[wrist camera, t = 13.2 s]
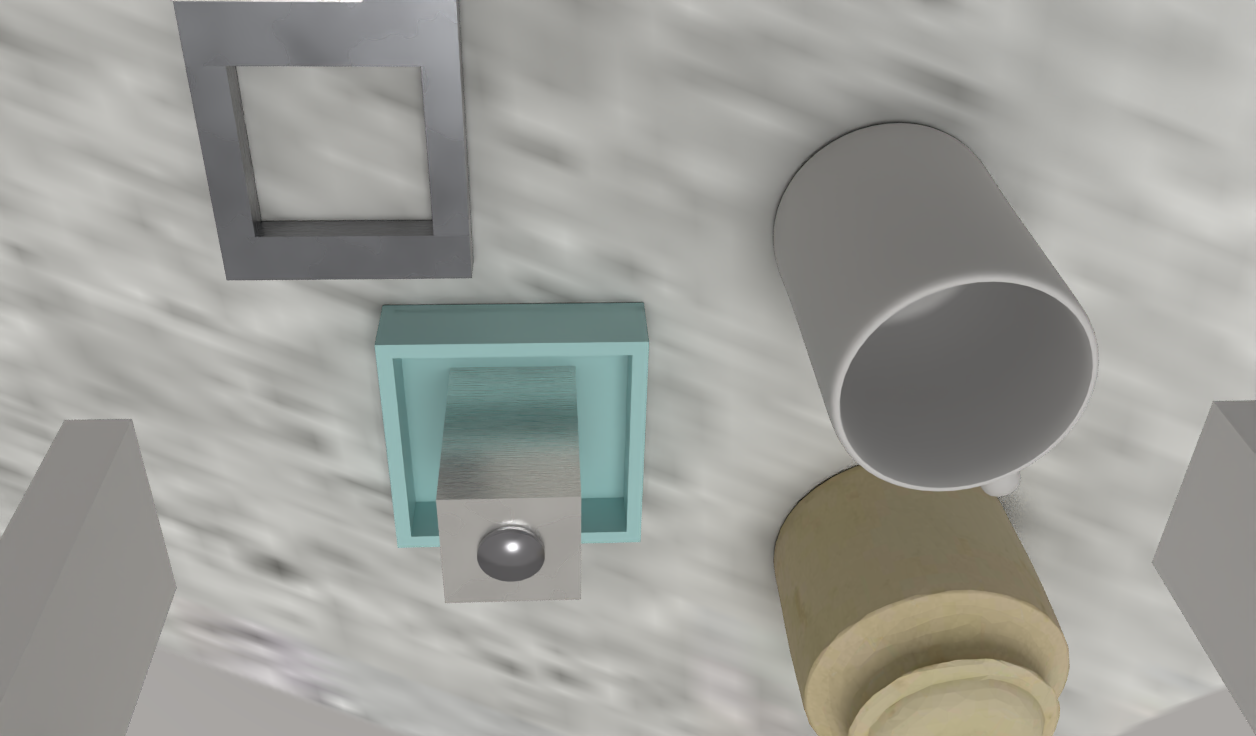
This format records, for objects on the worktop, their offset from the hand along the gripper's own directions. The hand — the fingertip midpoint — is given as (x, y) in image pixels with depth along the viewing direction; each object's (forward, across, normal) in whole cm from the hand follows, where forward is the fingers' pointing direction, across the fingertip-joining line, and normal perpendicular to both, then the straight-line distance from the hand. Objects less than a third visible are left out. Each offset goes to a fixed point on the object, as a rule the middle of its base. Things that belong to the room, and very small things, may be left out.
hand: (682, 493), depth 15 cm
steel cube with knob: (+28, -3, -20) cm, 35 cm away
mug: (+29, +12, -13) cm, 34 cm away
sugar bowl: (+29, +15, -30) cm, 44 cm away
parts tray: (+29, -3, -20) cm, 35 cm away
